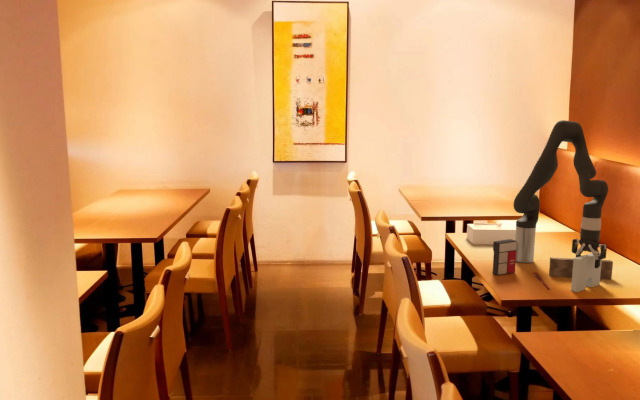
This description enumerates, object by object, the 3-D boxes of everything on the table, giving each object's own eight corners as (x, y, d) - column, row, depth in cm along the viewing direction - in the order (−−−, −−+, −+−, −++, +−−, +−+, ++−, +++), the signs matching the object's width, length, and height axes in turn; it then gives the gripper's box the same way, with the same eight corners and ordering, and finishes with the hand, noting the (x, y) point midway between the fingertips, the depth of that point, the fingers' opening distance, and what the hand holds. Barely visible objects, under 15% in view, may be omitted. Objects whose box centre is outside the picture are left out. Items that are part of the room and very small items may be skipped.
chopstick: (547, 290, 246) (547, 288, 246) (532, 274, 270) (532, 272, 270) (552, 290, 246) (552, 288, 246) (536, 274, 270) (536, 272, 270)
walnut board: (550, 276, 266) (551, 258, 264) (548, 274, 268) (550, 257, 267) (611, 279, 262) (613, 261, 260) (609, 277, 264) (611, 260, 263)
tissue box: (518, 245, 324) (519, 225, 323) (472, 244, 325) (473, 225, 323) (510, 239, 339) (511, 220, 337) (466, 238, 339) (467, 219, 337)
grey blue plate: (576, 292, 243) (579, 259, 241) (570, 290, 245) (573, 258, 243) (599, 284, 254) (602, 253, 252) (593, 283, 256) (596, 251, 254)
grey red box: (498, 275, 265) (500, 243, 263) (491, 273, 269) (493, 241, 267) (516, 272, 270) (518, 241, 268) (509, 270, 274) (511, 239, 272)
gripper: (569, 225, 249) (566, 263, 251) (602, 231, 237) (599, 271, 240) (579, 223, 253) (576, 260, 256) (612, 229, 242) (608, 268, 245)
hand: (587, 265), depth 248 cm, fingers open, 7 cm apart
